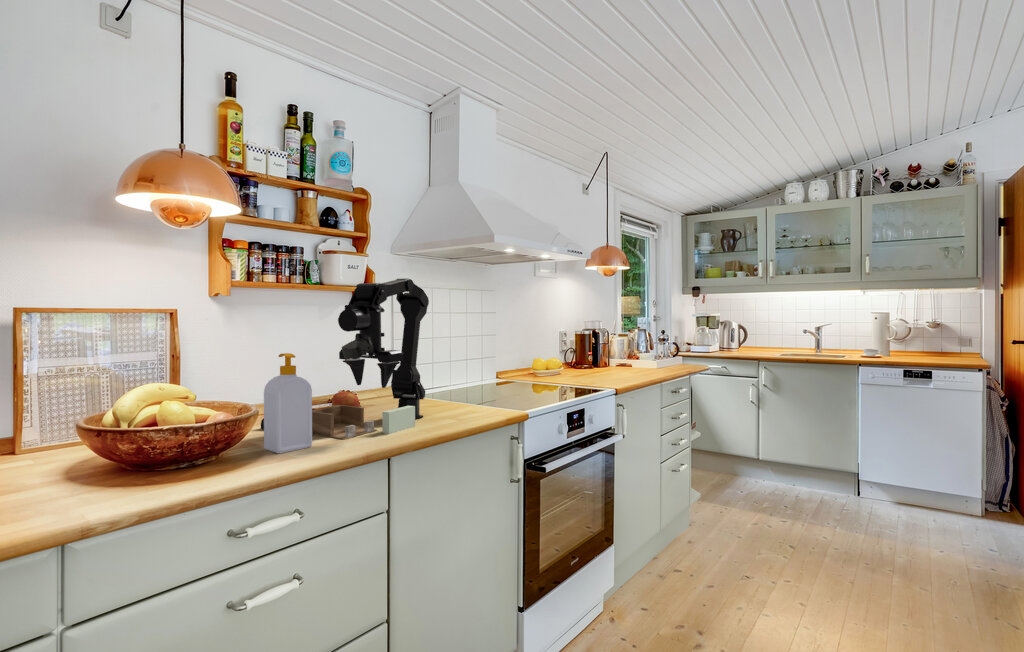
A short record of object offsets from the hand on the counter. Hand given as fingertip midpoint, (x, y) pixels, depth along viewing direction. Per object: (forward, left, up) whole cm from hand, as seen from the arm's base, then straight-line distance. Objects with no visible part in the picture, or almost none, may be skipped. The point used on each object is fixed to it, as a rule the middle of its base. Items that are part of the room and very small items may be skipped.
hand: (371, 386), depth 145 cm
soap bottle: (+22, -6, -13) cm, 26 cm away
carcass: (+3, -7, -13) cm, 15 cm away
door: (-7, +4, -13) cm, 15 cm away
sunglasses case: (+3, -26, -13) cm, 29 cm away
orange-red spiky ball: (-13, -23, -13) cm, 29 cm away
